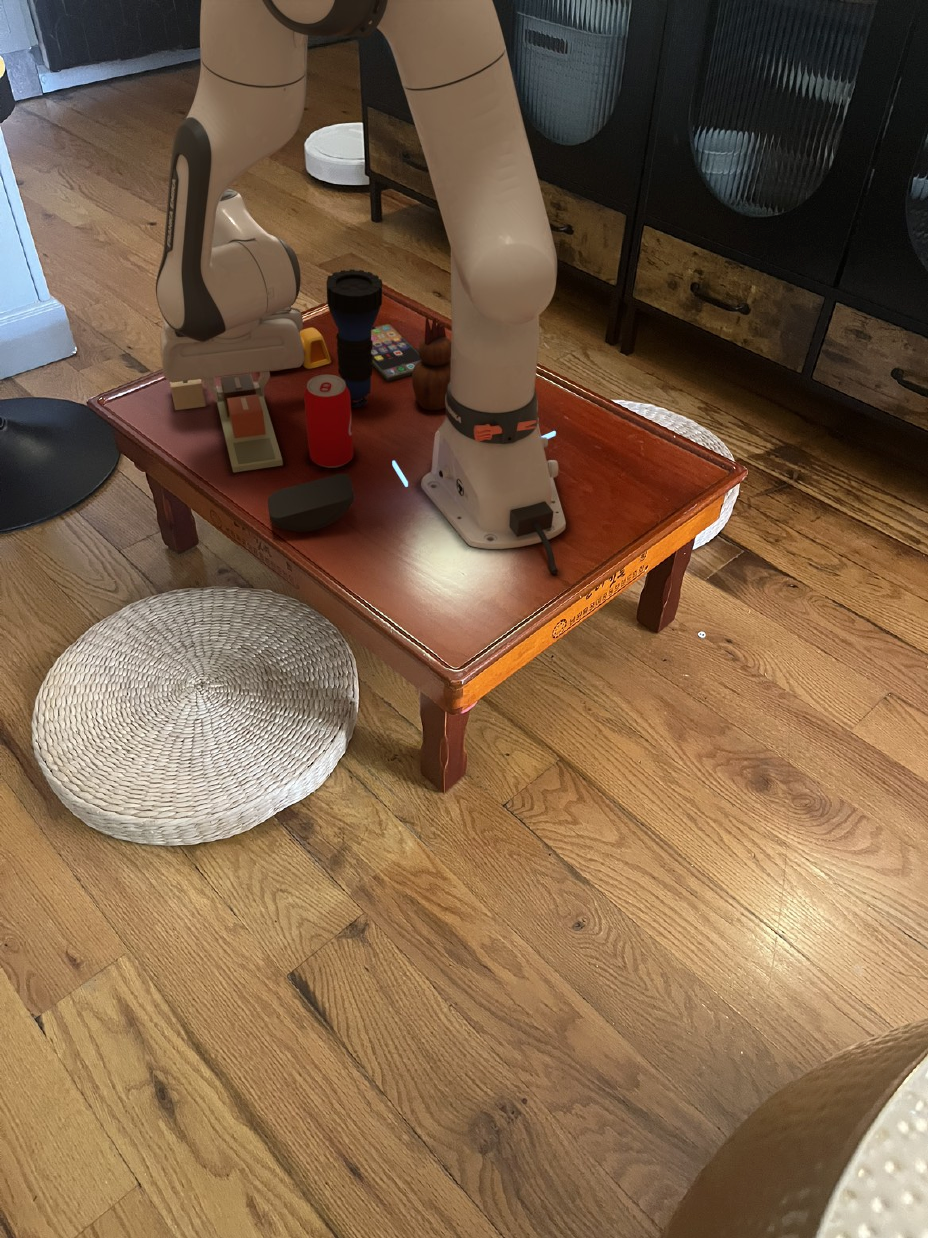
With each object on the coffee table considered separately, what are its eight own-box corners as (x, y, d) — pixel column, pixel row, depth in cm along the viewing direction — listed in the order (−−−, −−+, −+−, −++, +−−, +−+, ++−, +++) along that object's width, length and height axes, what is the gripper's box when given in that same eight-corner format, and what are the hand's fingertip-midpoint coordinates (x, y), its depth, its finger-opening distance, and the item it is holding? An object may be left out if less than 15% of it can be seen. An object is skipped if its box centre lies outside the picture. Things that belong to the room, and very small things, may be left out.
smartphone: (387, 381, 149) (387, 374, 148) (347, 339, 158) (346, 332, 157) (431, 369, 152) (431, 363, 151) (389, 329, 161) (389, 322, 160)
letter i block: (205, 406, 142) (201, 382, 139) (175, 410, 141) (170, 386, 138) (202, 391, 145) (198, 367, 142) (172, 394, 144) (167, 370, 141)
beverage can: (357, 447, 136) (353, 374, 127) (349, 472, 131) (345, 398, 123) (314, 443, 136) (308, 370, 128) (305, 468, 132) (298, 394, 123)
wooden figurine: (421, 418, 142) (422, 327, 131) (407, 399, 146) (406, 308, 135) (461, 409, 144) (465, 319, 133) (447, 391, 148) (449, 301, 137)
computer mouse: (268, 520, 118) (278, 545, 121) (354, 497, 119) (362, 522, 121) (265, 493, 123) (275, 517, 126) (348, 471, 123) (356, 495, 126)
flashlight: (395, 409, 143) (393, 284, 129) (353, 426, 140) (346, 300, 125) (365, 386, 148) (360, 263, 133) (323, 403, 144) (313, 278, 130)
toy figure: (264, 381, 148) (333, 363, 152) (259, 350, 144) (331, 332, 148) (251, 365, 151) (319, 348, 155) (246, 334, 147) (316, 317, 151)
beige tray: (283, 465, 132) (279, 434, 129) (233, 472, 130) (227, 441, 127) (263, 398, 144) (259, 368, 140) (217, 404, 142) (212, 374, 139)
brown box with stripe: (253, 396, 142) (250, 372, 139) (258, 412, 139) (255, 388, 136) (224, 400, 141) (220, 376, 138) (227, 416, 138) (223, 392, 135)
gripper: (297, 292, 134) (304, 378, 144) (150, 307, 129) (168, 394, 139) (305, 313, 130) (312, 399, 140) (153, 329, 125) (172, 417, 135)
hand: (239, 397), depth 139 cm, fingers closed on brown box with stripe, 4 cm apart
